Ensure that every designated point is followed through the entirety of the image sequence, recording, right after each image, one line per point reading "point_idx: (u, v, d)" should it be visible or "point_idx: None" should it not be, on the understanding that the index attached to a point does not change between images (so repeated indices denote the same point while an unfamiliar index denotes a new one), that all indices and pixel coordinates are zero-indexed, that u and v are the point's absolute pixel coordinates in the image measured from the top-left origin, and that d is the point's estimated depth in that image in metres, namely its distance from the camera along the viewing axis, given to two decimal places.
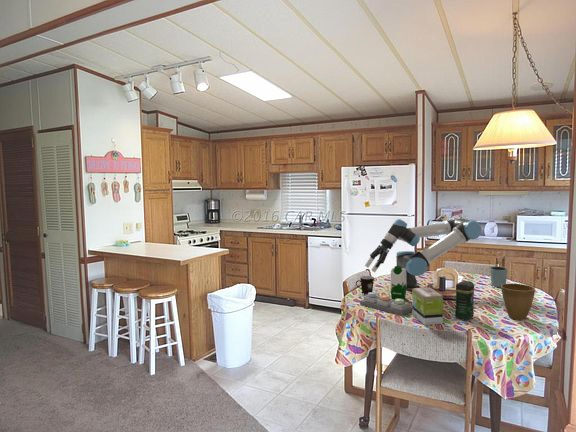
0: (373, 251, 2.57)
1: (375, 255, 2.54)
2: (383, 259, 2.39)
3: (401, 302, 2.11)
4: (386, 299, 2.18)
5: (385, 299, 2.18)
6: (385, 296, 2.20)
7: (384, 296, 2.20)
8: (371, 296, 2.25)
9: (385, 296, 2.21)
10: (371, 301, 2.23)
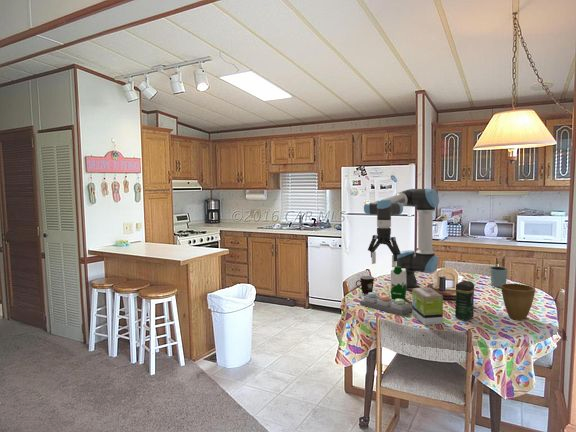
0: (370, 244, 2.25)
1: (376, 247, 2.23)
2: (398, 250, 2.12)
3: (401, 302, 2.11)
4: (386, 299, 2.18)
5: (385, 299, 2.18)
6: (385, 296, 2.20)
7: (384, 296, 2.20)
8: (371, 296, 2.25)
9: (385, 296, 2.21)
10: (371, 301, 2.23)
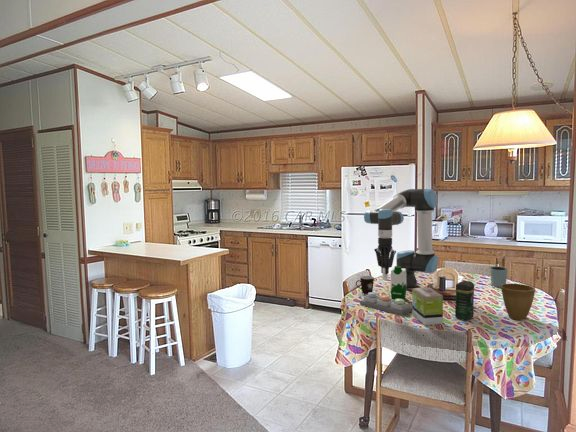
0: (377, 259, 2.20)
1: (384, 260, 2.19)
2: (391, 263, 2.15)
3: (401, 302, 2.11)
4: (386, 299, 2.18)
5: (385, 299, 2.18)
6: (385, 296, 2.20)
7: (384, 296, 2.20)
8: (371, 296, 2.25)
9: (385, 296, 2.21)
10: (371, 301, 2.23)
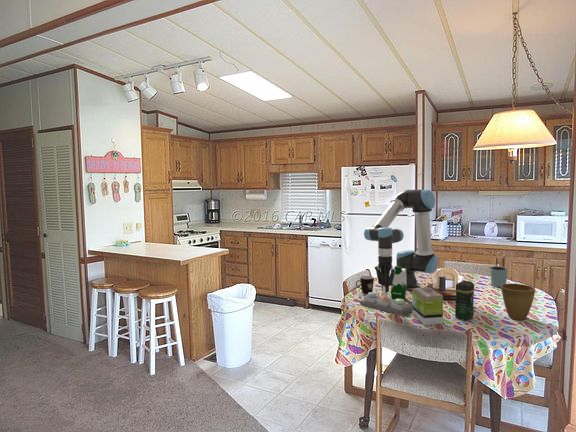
0: (377, 277, 2.21)
1: (384, 278, 2.20)
2: (391, 282, 2.16)
3: (401, 302, 2.11)
4: (386, 300, 2.18)
5: (385, 300, 2.18)
6: None
7: None
8: (371, 296, 2.25)
9: None
10: (371, 301, 2.23)
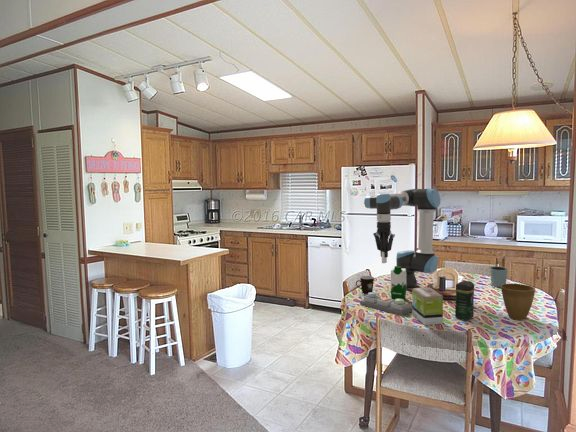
0: (376, 243, 2.24)
1: (383, 244, 2.22)
2: (390, 247, 2.19)
3: (401, 302, 2.11)
4: (386, 301, 2.18)
5: None
6: (385, 298, 2.20)
7: (384, 298, 2.21)
8: (371, 296, 2.25)
9: (385, 298, 2.21)
10: (371, 301, 2.23)
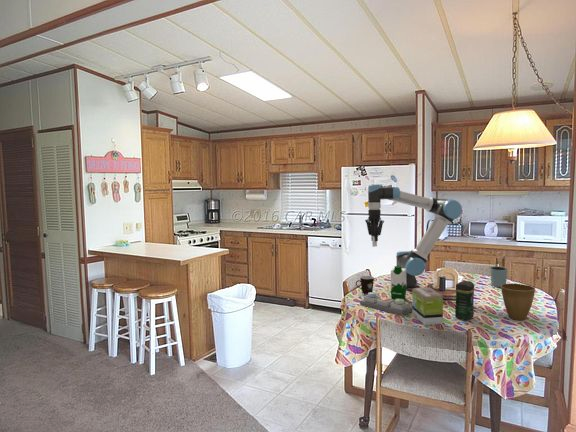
0: None
1: None
2: (380, 232, 2.45)
3: (401, 302, 2.11)
4: (386, 301, 2.18)
5: None
6: (385, 298, 2.20)
7: (384, 298, 2.21)
8: (371, 296, 2.25)
9: (385, 298, 2.21)
10: (371, 301, 2.23)
